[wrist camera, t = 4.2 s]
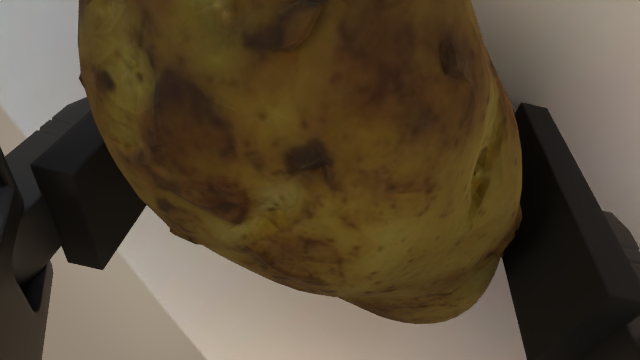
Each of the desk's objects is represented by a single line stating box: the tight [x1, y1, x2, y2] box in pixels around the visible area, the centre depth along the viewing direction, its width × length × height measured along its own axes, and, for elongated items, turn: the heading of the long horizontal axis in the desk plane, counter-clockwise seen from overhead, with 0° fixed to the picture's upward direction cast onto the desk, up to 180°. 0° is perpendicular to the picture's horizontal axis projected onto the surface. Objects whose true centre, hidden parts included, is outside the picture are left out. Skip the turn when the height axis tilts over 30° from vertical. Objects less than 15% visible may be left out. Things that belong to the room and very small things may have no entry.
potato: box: [78, 0, 522, 324], centre depth 10 cm, size 8×13×8 cm, turn 4°
